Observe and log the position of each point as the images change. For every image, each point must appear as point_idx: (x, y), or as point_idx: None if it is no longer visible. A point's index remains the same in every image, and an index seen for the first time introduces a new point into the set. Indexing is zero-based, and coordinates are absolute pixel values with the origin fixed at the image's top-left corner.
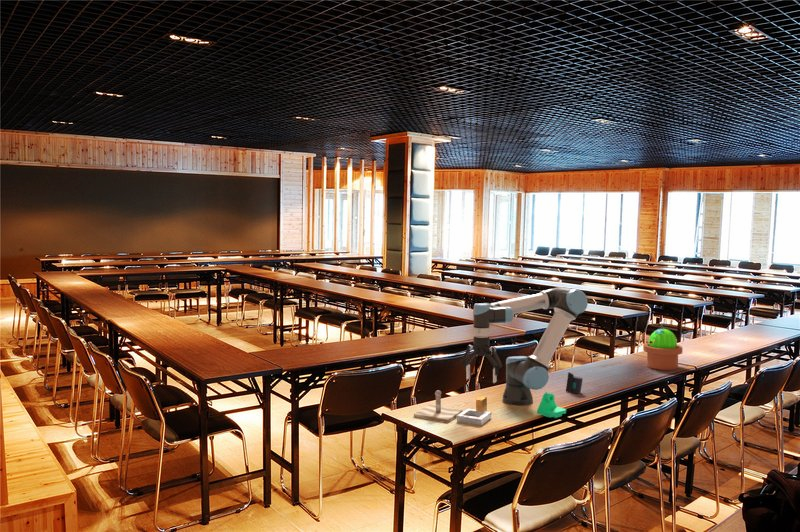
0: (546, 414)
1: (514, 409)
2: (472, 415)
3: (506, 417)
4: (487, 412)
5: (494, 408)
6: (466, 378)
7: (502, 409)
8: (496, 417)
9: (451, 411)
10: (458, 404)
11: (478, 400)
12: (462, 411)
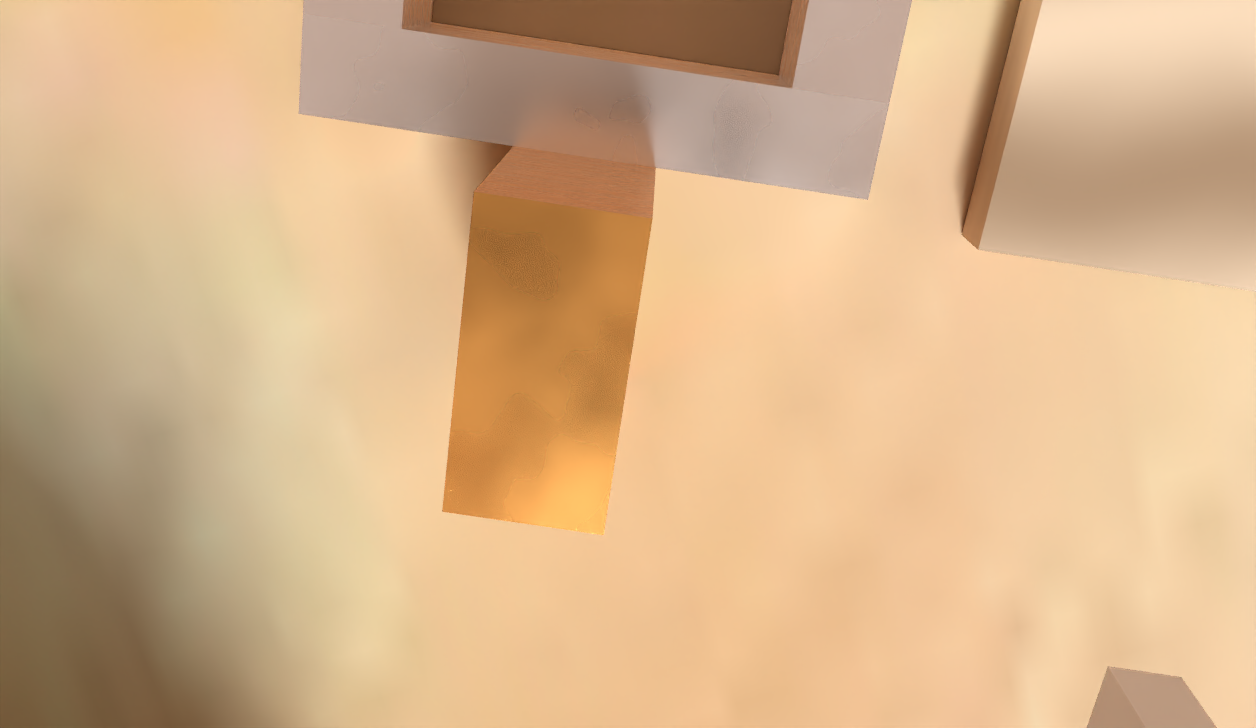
0: None
1: (126, 705)
2: (715, 67)
3: (93, 253)
4: (362, 57)
5: (454, 663)
6: (1186, 697)
7: (310, 652)
8: (262, 192)
9: (1203, 72)
10: None
11: (581, 205)
12: (970, 240)
